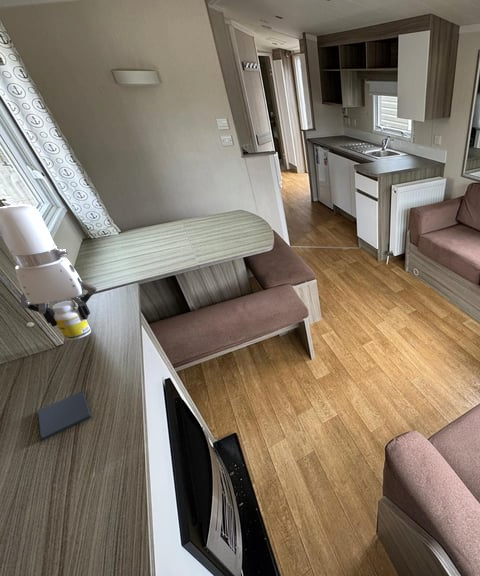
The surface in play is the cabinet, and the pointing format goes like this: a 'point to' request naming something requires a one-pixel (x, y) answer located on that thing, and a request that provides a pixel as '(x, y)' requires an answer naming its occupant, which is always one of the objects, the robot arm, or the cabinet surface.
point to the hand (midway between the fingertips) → (70, 320)
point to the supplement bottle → (70, 321)
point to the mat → (63, 415)
